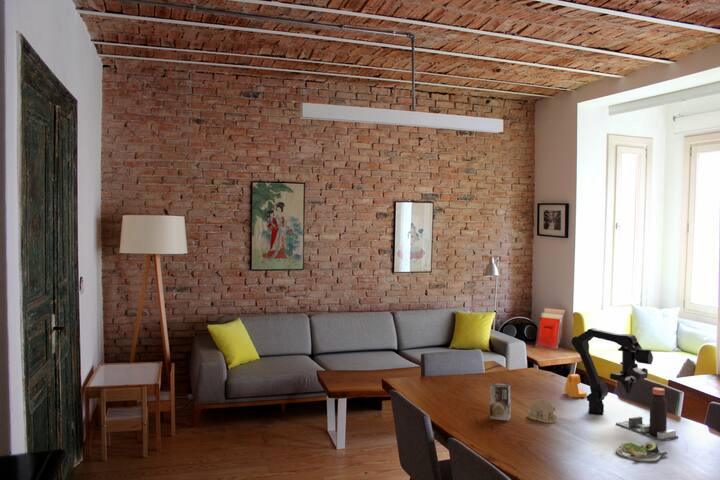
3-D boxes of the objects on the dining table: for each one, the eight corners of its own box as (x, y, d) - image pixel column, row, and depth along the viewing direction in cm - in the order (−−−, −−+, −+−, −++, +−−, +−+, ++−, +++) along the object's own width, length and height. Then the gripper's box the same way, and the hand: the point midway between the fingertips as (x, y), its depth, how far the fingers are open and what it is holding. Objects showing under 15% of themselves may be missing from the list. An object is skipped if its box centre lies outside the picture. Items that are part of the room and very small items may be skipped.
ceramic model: (559, 418, 295) (560, 398, 295) (554, 424, 285) (554, 403, 285) (530, 413, 302) (531, 393, 302) (524, 419, 292) (524, 399, 292)
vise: (615, 424, 285) (615, 417, 285) (632, 421, 290) (633, 415, 290) (660, 441, 263) (660, 433, 263) (678, 437, 267) (678, 430, 267)
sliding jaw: (627, 425, 281) (627, 418, 281) (641, 423, 284) (641, 416, 284) (644, 432, 272) (644, 424, 272) (658, 429, 276) (658, 422, 276)
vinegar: (669, 434, 270) (670, 389, 270) (661, 437, 266) (661, 391, 266) (654, 430, 275) (655, 386, 275) (646, 432, 272) (647, 388, 271)
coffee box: (511, 417, 295) (511, 384, 295) (508, 421, 289) (508, 387, 289) (492, 414, 299) (492, 382, 299) (489, 418, 293) (489, 385, 293)
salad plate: (656, 469, 233) (656, 457, 233) (608, 457, 245) (608, 446, 245) (669, 455, 247) (669, 444, 247) (624, 445, 259) (624, 434, 259)
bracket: (587, 398, 331) (587, 376, 330) (575, 398, 329) (575, 376, 329) (575, 393, 341) (576, 371, 341) (564, 393, 340) (564, 372, 339)
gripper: (628, 366, 281) (627, 399, 281) (656, 362, 288) (656, 395, 289) (609, 361, 291) (608, 393, 291) (637, 358, 298) (637, 389, 299)
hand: (628, 393), depth 292 cm, fingers closed
